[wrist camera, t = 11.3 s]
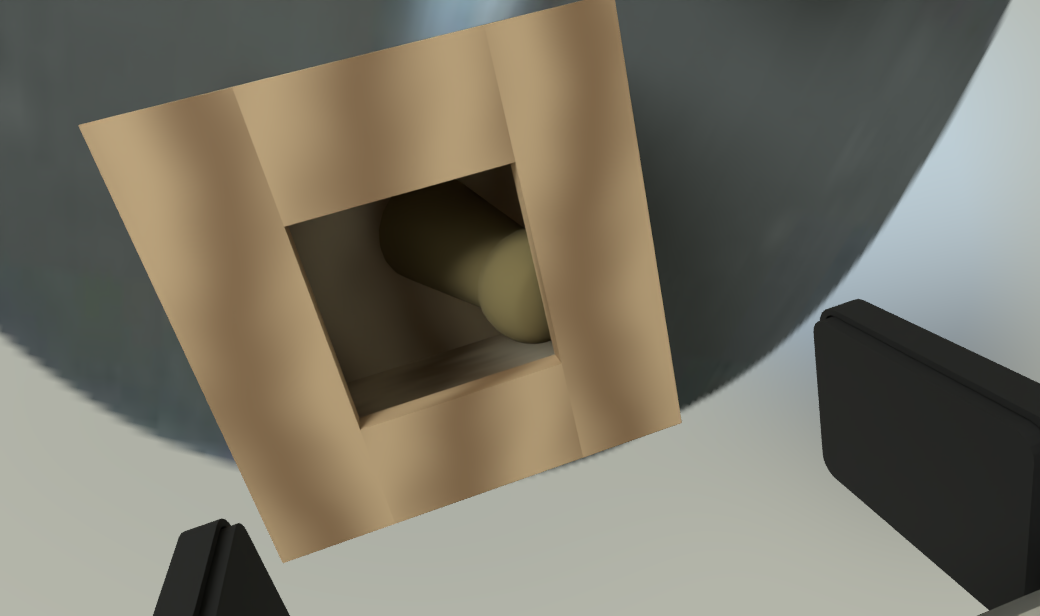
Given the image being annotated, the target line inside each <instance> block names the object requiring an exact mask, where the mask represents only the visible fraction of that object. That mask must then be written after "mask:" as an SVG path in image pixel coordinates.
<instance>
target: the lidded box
mask: <svg viewBox="0 0 1040 616" xmlns="http://www.w3.org/2000/svg"><path fill="white" fill-rule="evenodd" d="M78 126H79V128H80V130H81V132H82V134H83V136H84V138H85V141H86V143H87V145H88V147H89V149H90V151H91V153H92V156H93V158H94V160H95V162H96V164H97V166H98V168H99V171H100V173H101V175H102V177H103V179H104V181H105V183H106V185H107V188H108V190H109V192H110V194H111V196H112V198H113V200H114V203H115V205H116V207H117V209H118V211H119V213H120V215H121V218H122V220H123V222H124V224H125V226H126V228H127V230H128V233H129V235H130V237H131V239H132V241H133V243H134V245H135V248H136V250H137V252H138V254H139V256H140V258H141V260H142V263H143V265H144V267H145V269H146V271H147V273H148V275H149V278H150V280H151V282H152V284H153V286H154V288H155V290H156V293H157V295H158V297H159V299H160V301H161V303H162V305H163V308H164V310H165V312H166V314H167V316H168V318H169V320H170V323H171V325H172V327H173V329H174V331H175V333H176V335H177V338H178V340H179V342H180V344H181V346H182V348H183V350H184V353H185V355H186V357H187V359H188V361H189V363H190V365H191V368H192V370H193V372H194V374H195V376H196V378H197V380H198V383H199V385H200V387H201V389H202V391H203V393H204V395H205V397H206V400H207V402H208V404H209V406H210V408H211V410H212V412H213V415H214V417H215V419H216V421H217V423H218V425H219V427H220V430H221V432H222V434H223V436H224V438H225V440H226V442H227V445H228V447H229V449H230V451H231V453H232V455H233V457H234V460H235V462H236V464H237V466H238V468H239V470H240V472H241V475H242V477H243V479H244V481H245V483H246V485H247V487H248V489H249V491H250V494H251V496H252V498H253V500H254V502H255V504H256V507H257V509H258V511H259V513H260V515H261V517H262V520H263V522H264V524H265V526H266V528H267V530H268V532H269V534H270V537H271V539H272V541H273V543H274V545H275V547H276V550H277V551H278V554H279V556H280V558H281V560H282V562H283V563H285V562H288V561H290V560H293V559H296V558H299V557H301V556H305V555H308V554H310V553H313V552H316V551H319V550H322V549H325V548H327V547H330V546H333V545H336V544H339V543H342V542H344V541H347V540H350V539H353V538H356V537H358V536H362V535H364V534H367V533H370V532H373V531H376V530H378V529H381V528H384V527H387V526H390V525H392V524H395V523H398V522H401V521H404V520H407V519H410V518H413V517H415V516H418V515H421V514H424V513H427V512H430V511H432V510H435V509H438V508H441V507H444V506H447V505H450V504H453V503H455V502H458V501H461V500H464V499H467V498H470V497H472V496H475V495H478V494H481V493H484V492H487V491H489V490H492V489H495V488H498V487H500V486H504V485H507V484H509V483H512V482H515V481H518V480H521V479H524V478H526V477H529V476H532V475H535V474H538V473H541V472H543V471H546V470H549V469H552V468H555V467H558V466H561V465H563V464H566V463H569V462H572V461H575V460H578V459H580V458H583V457H586V456H589V455H592V454H595V453H597V452H600V451H603V450H606V449H609V448H612V447H615V446H617V445H620V444H623V443H626V442H629V441H632V440H634V439H637V438H640V437H643V436H646V435H649V434H652V433H654V432H657V431H660V430H663V429H666V428H668V427H671V426H674V425H677V424H680V423H681V422H682V421H681V415H680V409H679V403H678V396H677V390H676V384H675V377H674V371H673V365H672V358H671V352H670V346H669V339H668V333H667V327H666V320H665V314H664V308H663V301H662V295H661V289H660V282H659V276H658V270H657V263H656V257H655V251H654V245H653V238H652V232H651V226H650V219H649V213H648V207H647V200H646V194H645V188H644V181H643V175H642V169H641V162H640V156H639V150H638V143H637V137H636V131H635V124H634V118H633V112H632V106H631V99H630V93H629V87H628V80H627V74H626V68H625V61H624V55H623V49H622V42H621V36H620V30H619V23H618V17H617V11H616V4H615V0H583V1H579V2H575V3H571V4H566V5H562V6H558V7H554V8H550V9H546V10H542V11H538V12H534V13H530V14H526V15H522V16H517V17H513V18H509V19H505V20H501V21H497V22H493V23H489V24H485V25H481V26H477V27H473V28H469V29H465V30H461V31H457V32H453V33H449V34H445V35H440V36H436V37H432V38H428V39H424V40H420V41H416V42H412V43H408V44H404V45H400V46H396V47H392V48H388V49H384V50H380V51H376V52H372V53H368V54H364V55H360V56H355V57H351V58H347V59H343V60H339V61H335V62H331V63H327V64H323V65H319V66H315V67H311V68H307V69H303V70H299V71H295V72H291V73H287V74H283V75H279V76H275V77H270V78H266V79H262V80H258V81H254V82H250V83H246V84H242V85H238V86H234V87H230V88H226V89H222V90H218V91H214V92H210V93H206V94H202V95H198V96H194V97H189V98H185V99H181V100H177V101H173V102H169V103H165V104H161V105H157V106H153V107H149V108H145V109H141V110H137V111H133V112H129V113H125V114H121V115H117V116H113V117H109V118H105V119H101V120H97V121H93V122H89V123H85V124H81V125H78ZM453 179H457V180H458V181H460V182H461V183H463V184H464V185H466V186H467V187H468V188H470V189H471V190H472V191H474V192H475V193H477V194H478V195H479V196H481V197H482V198H484V199H485V200H486V201H488V202H489V203H490V204H492V205H493V206H495V207H496V208H497V209H499V210H500V211H502V212H503V213H504V214H506V215H507V216H508V217H510V218H511V219H513V220H514V221H515V222H517V223H518V224H520V225H521V226H522V227H524V228H526V233H527V237H528V241H529V246H530V250H531V254H532V259H533V263H534V267H535V271H536V276H537V280H538V284H539V289H540V293H541V297H542V302H543V306H544V310H545V315H546V319H547V323H548V327H549V332H550V336H551V341H548V342H545V343H540V344H524V343H520V342H516V341H514V340H512V339H510V338H508V337H506V336H504V335H502V334H501V333H499V332H498V331H497V330H496V329H495V328H494V327H493V326H492V324H491V323H490V322H489V321H488V319H487V318H486V317H485V315H484V314H483V312H482V309H481V308H480V307H477V306H475V305H472V304H470V303H467V302H465V301H462V300H460V299H457V298H455V297H452V296H450V295H447V294H445V293H442V292H440V291H437V290H435V289H432V288H430V287H427V286H425V285H422V284H420V283H417V282H415V281H413V280H410V279H408V278H406V277H404V276H402V275H400V274H398V273H396V272H395V271H394V270H393V269H392V268H391V267H390V265H389V264H388V263H387V262H386V260H385V258H384V255H383V253H382V251H381V248H380V240H379V227H380V222H381V218H382V214H383V211H384V209H385V207H386V205H387V204H388V202H389V200H390V198H391V197H392V196H396V195H400V194H403V193H407V192H410V191H414V190H417V189H421V188H425V187H428V186H432V185H435V184H439V183H442V182H446V181H450V180H453Z"/></svg>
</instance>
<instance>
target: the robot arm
mask: <svg viewBox="0 0 1040 616" xmlns="http://www.w3.org/2000/svg"><path fill="white" fill-rule="evenodd" d="M814 344H815V357H816V370H817V384H818V396H819V410H820V423H821V435H822V449H823V458H824V461H825V464H826V466H827V468H828V470H829V471H830V473H831V474H832V475H833V476H834V477H835V478H836V479H837V480H838V481H839V482H840V483H842V484H843V485H844V486H845V487H846V488H847V489H849V490H850V491H851V492H852V493H853V494H854V495H856V496H857V497H858V498H859V499H861V500H862V501H863V502H864V503H865V504H866V505H867V506H868V507H870V508H871V509H872V510H873V511H874V512H875V513H877V514H878V515H879V516H880V517H881V518H882V519H884V520H885V521H886V522H887V523H888V524H889V525H891V526H892V527H893V528H894V529H895V530H896V531H897V532H899V533H900V534H901V535H902V536H903V537H905V538H906V539H907V540H908V541H909V542H910V543H912V544H913V545H914V546H915V547H916V548H918V550H920V551H921V552H922V553H923V554H924V555H925V556H927V557H928V558H929V559H930V560H931V561H932V562H934V563H935V564H936V565H937V566H938V567H939V568H941V569H942V570H943V571H944V572H945V573H946V574H948V575H949V576H950V577H951V578H952V579H953V580H955V581H956V582H957V583H958V584H959V585H960V586H962V587H963V588H964V589H965V590H966V591H967V592H969V593H970V594H971V595H972V596H973V597H974V598H976V599H977V600H978V601H979V602H980V603H982V604H983V605H984V606H985V607H986V608H987V609H988V610H989V611H987V612H985V613H982V614H980V615H978V616H1040V383H1038V382H1035V381H1033V380H1031V379H1029V378H1027V377H1025V376H1022V375H1021V374H1019V373H1016V372H1014V371H1012V370H1010V369H1008V368H1006V367H1004V366H1002V365H1000V364H997V363H995V362H993V361H991V360H989V359H987V358H985V357H982V356H980V355H978V354H976V353H974V352H972V351H970V350H968V349H966V348H964V347H961V346H959V345H957V344H955V343H953V342H951V341H949V340H947V339H944V338H942V337H940V336H938V335H936V334H934V333H932V332H930V331H928V330H925V329H923V328H921V327H919V326H917V325H915V324H912V323H911V322H908V321H906V320H904V319H902V318H900V317H898V316H896V315H894V314H892V313H889V312H887V311H885V310H883V309H881V308H879V307H877V306H874V305H872V304H870V303H868V302H866V301H864V300H860V299H856V300H852V301H849V302H846V303H844V304H841V305H838V306H835V307H832V308H829V309H826V310H825V311H824V312H822V314H821V317H820V321H818V322H817V323H816V324H815V326H814ZM153 616H290V615H289V613H288V611H287V609H286V607H285V605H284V603H283V601H282V599H281V598H280V595H279V593H278V592H277V590H276V588H275V586H274V584H273V582H272V580H271V578H270V576H269V574H268V572H267V570H266V568H265V566H264V564H263V562H262V560H261V558H260V556H259V554H258V552H257V550H256V548H255V546H254V544H253V543H252V540H251V538H250V537H249V535H248V533H247V531H246V529H245V527H244V526H243V525H242V524H240V523H238V524H235V525H232V526H231V525H230V524H229V522H227V521H226V520H225V519H219V520H216V521H213V522H210V523H208V524H205V525H202V526H199V527H196V528H193V529H190V530H187V531H185V532H183V533H181V535H180V537H179V539H178V542H177V545H176V548H175V551H174V554H173V557H172V560H171V563H170V566H169V569H168V572H167V575H166V578H165V581H164V584H163V587H162V590H161V593H160V596H159V599H158V602H157V605H156V608H155V611H154V614H153Z"/></svg>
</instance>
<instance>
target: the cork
mask: <svg viewBox="0 0 1040 616" xmlns="http://www.w3.org/2000/svg"><path fill="white" fill-rule="evenodd" d="M379 240H380V248H381V251H382V253H383V255H384V258H385V260H386V262H387V263H388V264H389V265H390V267H391V268H392V269H393V270H394V271H395V272H396V273H398V274H400V275H402V276H404V277H406V278H408V279H410V280H413V281H415V282H417V283H420V284H422V285H425V286H427V287H430V288H432V289H435V290H437V291H440V292H442V293H445V294H447V295H450V296H452V297H455V298H457V299H460V300H462V301H465V302H467V303H470V304H472V305H475V306H477V307H480V308H481V309H482V312H483V314H484V315H485V317H486V318H487V319H488V321H489V322H490V323H491V324H492V326H493V327H494V328H495V329H496V330H497V331H498V332H499V333H501V334H502V335H504V336H506V337H508V338H510V339H512V340H514V341H516V342H520V343H524V344H540V343H545V342H548V341H551V336H550V332H549V327H548V323H547V319H546V315H545V310H544V306H543V302H542V297H541V293H540V289H539V284H538V280H537V276H536V271H535V267H534V263H533V259H532V254H531V250H530V246H529V241H528V237H527V233H526V228H524V227H522V226H521V225H520V224H518V223H517V222H515V221H514V220H513V219H511V218H510V217H508V216H507V215H506V214H504V213H503V212H502V211H500V210H499V209H497V208H496V207H495V206H493V205H492V204H490V203H489V202H488V201H486V200H485V199H484V198H482V197H481V196H479V195H478V194H477V193H475V192H474V191H472V190H471V189H470V188H468V187H467V186H466V185H464V184H463V183H461V182H460V181H458V180H457V179H453V180H450V181H446V182H442V183H439V184H435V185H432V186H428V187H425V188H421V189H417V190H414V191H410V192H407V193H403V194H400V195H396V196H392V197H391V198H390V200H389V202H388V204H387V205H386V207H385V209H384V211H383V214H382V218H381V222H380V227H379Z"/></svg>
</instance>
